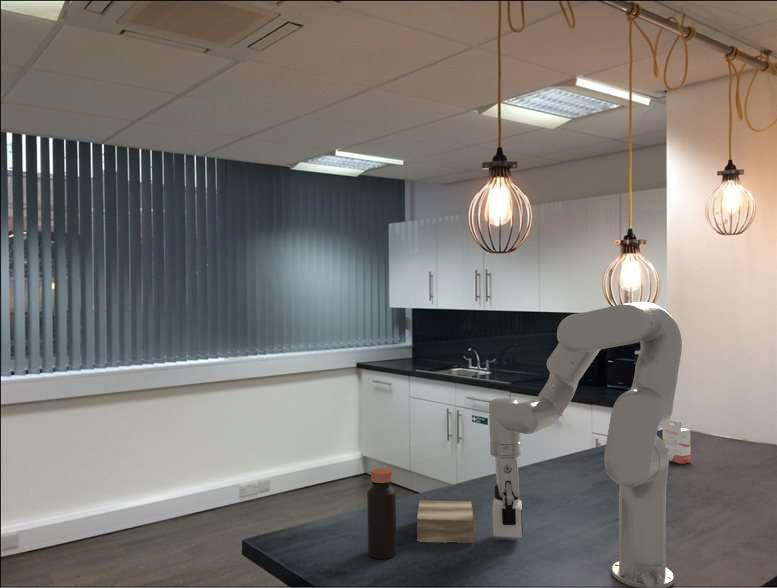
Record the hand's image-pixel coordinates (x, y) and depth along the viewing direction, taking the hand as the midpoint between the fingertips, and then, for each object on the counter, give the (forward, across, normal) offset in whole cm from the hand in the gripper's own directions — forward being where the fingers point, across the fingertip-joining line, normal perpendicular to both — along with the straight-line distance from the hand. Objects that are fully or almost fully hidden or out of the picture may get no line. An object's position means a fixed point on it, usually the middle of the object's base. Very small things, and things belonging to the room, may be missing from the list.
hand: (507, 518), depth 162 cm
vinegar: (+5, -10, +31) cm, 33 cm away
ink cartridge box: (+6, +76, -66) cm, 101 cm away
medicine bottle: (+4, 0, 0) cm, 4 cm away
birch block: (+5, +4, +16) cm, 17 cm away
